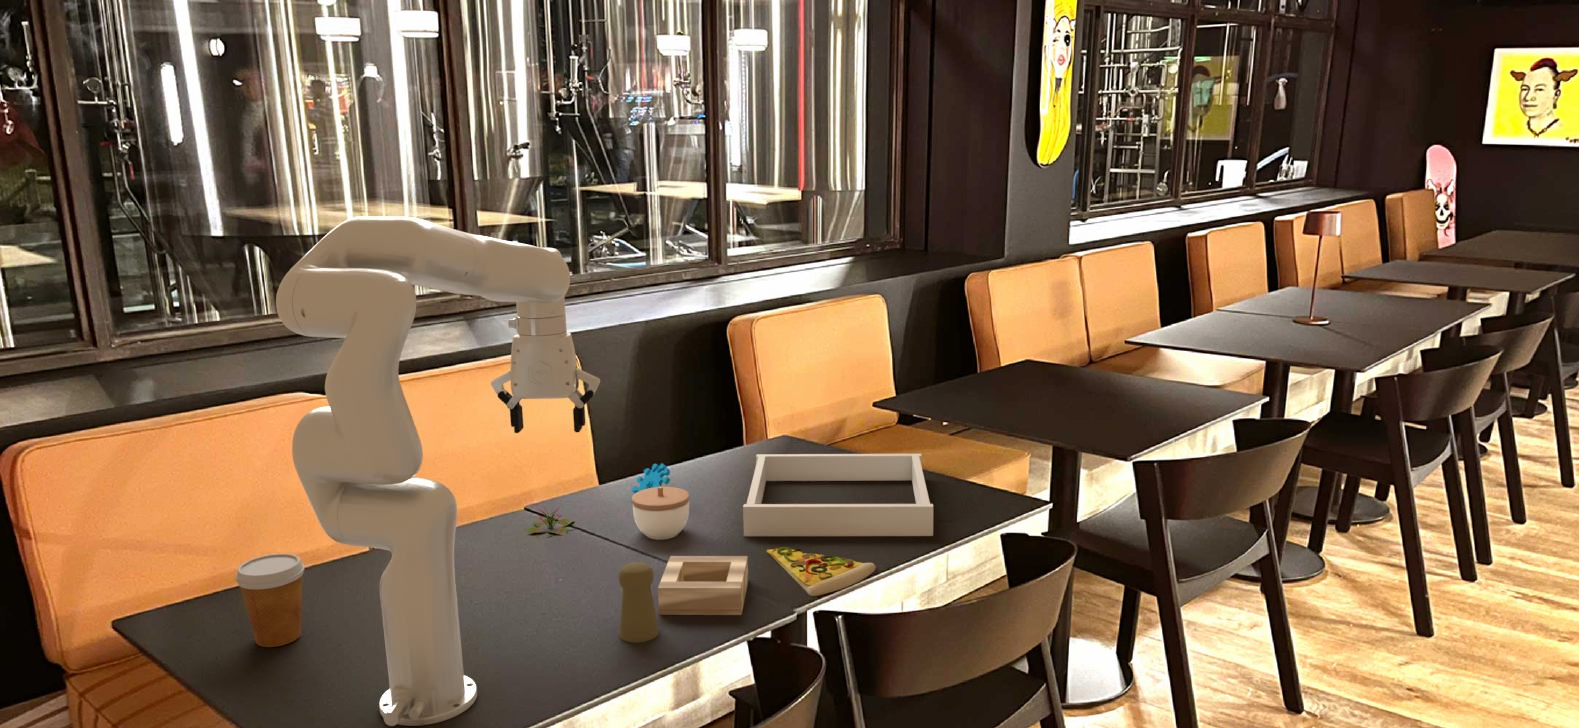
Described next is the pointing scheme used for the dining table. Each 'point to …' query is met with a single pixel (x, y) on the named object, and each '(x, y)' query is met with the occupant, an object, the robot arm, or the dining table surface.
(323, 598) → the dining table surface
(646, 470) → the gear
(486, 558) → the dining table surface
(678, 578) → the caddy
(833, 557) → the pizza slice
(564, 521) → the lily flower
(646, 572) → the cork
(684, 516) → the lidded jar
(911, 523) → the white rectangular frame
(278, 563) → the disposable coffee cup
